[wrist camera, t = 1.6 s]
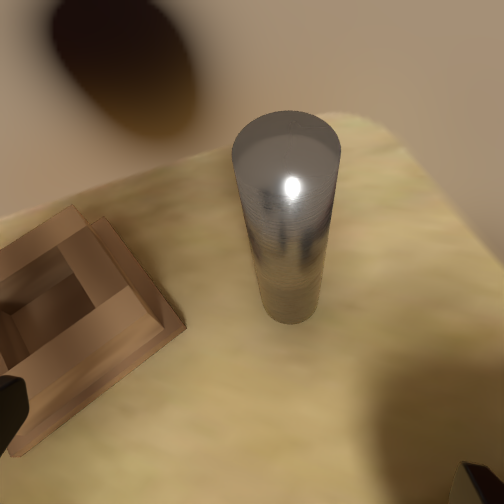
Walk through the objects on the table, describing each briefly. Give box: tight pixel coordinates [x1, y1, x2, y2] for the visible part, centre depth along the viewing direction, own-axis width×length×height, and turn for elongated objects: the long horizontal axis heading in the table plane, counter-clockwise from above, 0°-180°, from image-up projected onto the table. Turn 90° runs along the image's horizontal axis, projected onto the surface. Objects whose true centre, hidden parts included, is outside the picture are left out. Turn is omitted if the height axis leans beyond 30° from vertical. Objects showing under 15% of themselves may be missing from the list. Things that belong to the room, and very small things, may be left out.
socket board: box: [0, 205, 187, 457], centre depth 23 cm, size 11×10×4 cm
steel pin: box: [232, 111, 341, 324], centre depth 18 cm, size 3×3×13 cm
